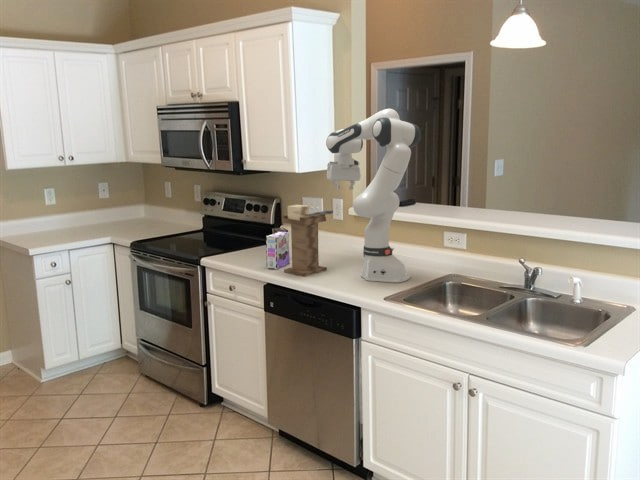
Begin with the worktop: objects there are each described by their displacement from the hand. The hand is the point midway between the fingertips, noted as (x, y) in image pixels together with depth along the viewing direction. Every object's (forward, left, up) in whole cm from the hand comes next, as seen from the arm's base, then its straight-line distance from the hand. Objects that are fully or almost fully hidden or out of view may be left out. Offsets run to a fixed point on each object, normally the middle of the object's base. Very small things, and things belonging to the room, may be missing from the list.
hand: (344, 189), depth 299 cm
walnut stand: (+5, +30, -37) cm, 48 cm away
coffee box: (+31, +13, -37) cm, 50 cm away
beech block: (+4, +24, -11) cm, 27 cm away
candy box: (+23, +27, -37) cm, 51 cm away
